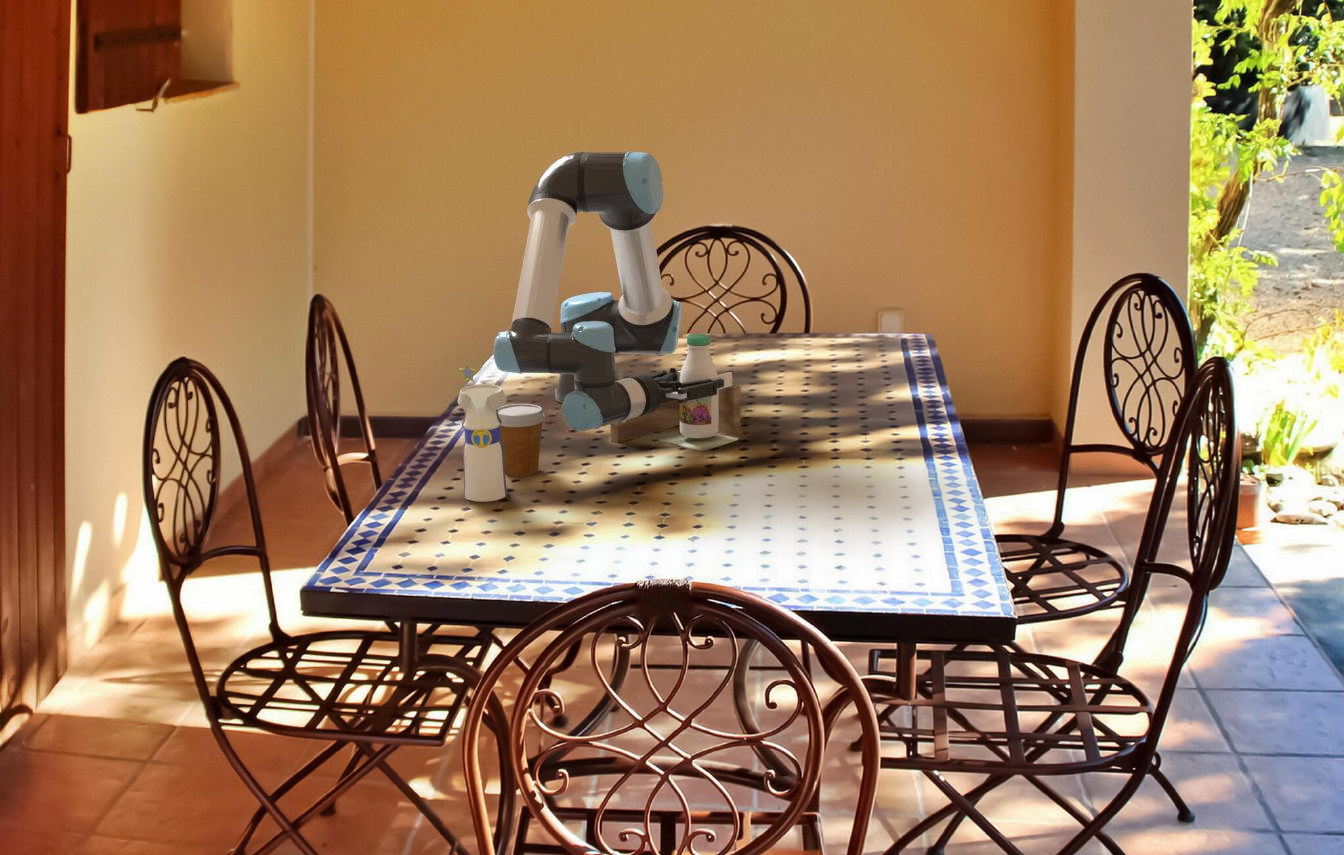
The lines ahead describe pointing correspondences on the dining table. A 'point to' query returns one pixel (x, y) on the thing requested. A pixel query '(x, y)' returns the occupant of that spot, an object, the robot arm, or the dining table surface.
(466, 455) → the white tall bottle shape
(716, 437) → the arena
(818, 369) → the dining table surface
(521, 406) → the disposable coffee cup
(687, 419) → the milk bottle
